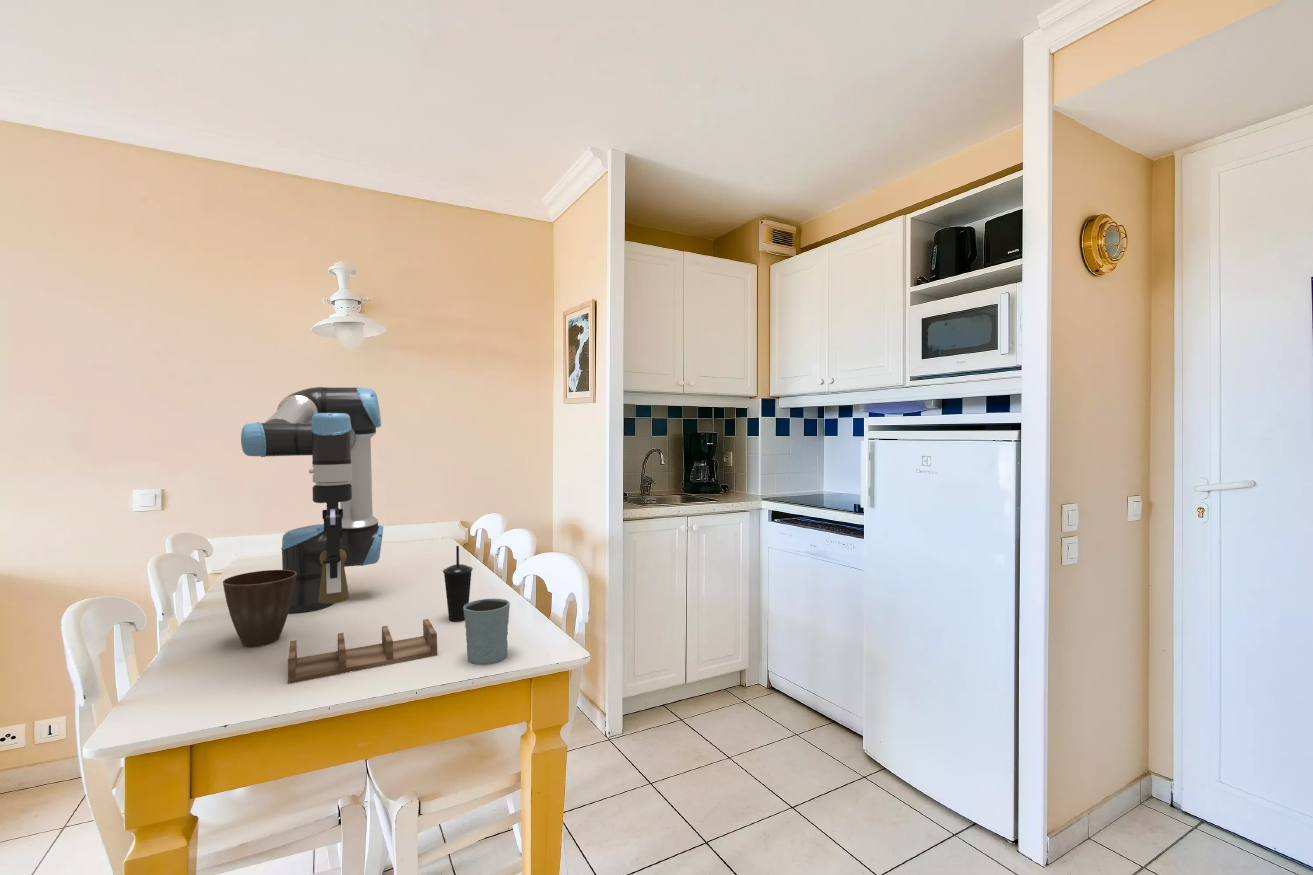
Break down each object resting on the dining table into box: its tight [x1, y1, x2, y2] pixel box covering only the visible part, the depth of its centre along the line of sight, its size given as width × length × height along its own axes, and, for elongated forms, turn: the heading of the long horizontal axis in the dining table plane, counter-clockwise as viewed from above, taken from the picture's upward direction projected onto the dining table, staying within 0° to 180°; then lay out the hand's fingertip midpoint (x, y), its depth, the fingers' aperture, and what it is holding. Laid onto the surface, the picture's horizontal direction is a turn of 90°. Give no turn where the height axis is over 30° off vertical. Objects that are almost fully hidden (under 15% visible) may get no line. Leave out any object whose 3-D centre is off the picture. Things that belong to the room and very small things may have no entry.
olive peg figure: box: [318, 549, 350, 604], centre depth 128 cm, size 6×6×11 cm
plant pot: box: [222, 569, 297, 648], centre depth 143 cm, size 15×15×16 cm
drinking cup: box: [442, 545, 474, 623], centre depth 158 cm, size 8×8×20 cm
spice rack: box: [287, 618, 438, 685], centre depth 131 cm, size 12×29×5 cm, turn 120°
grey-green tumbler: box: [463, 598, 511, 666], centre depth 132 cm, size 10×10×12 cm
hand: (333, 588), depth 128 cm, fingers closed on olive peg figure, 5 cm apart
